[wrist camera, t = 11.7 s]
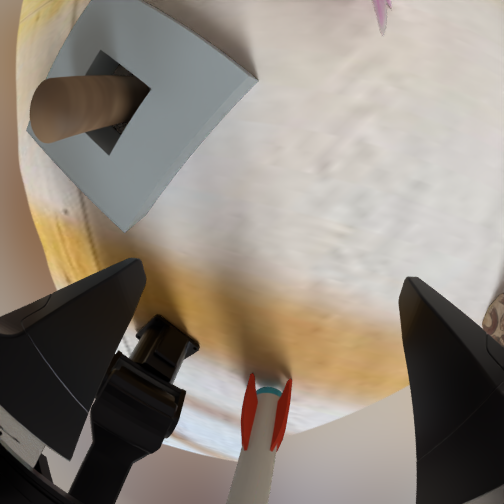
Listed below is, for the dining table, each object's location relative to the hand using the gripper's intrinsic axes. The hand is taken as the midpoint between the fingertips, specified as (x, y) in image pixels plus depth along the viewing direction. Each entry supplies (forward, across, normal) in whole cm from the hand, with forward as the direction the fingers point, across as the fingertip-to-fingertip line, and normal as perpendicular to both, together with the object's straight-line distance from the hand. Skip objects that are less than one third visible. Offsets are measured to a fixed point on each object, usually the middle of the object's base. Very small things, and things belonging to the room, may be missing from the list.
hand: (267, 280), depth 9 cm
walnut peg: (+13, +13, -7) cm, 19 cm away
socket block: (+13, +13, -7) cm, 19 cm away
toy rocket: (+13, +1, +27) cm, 30 cm away
